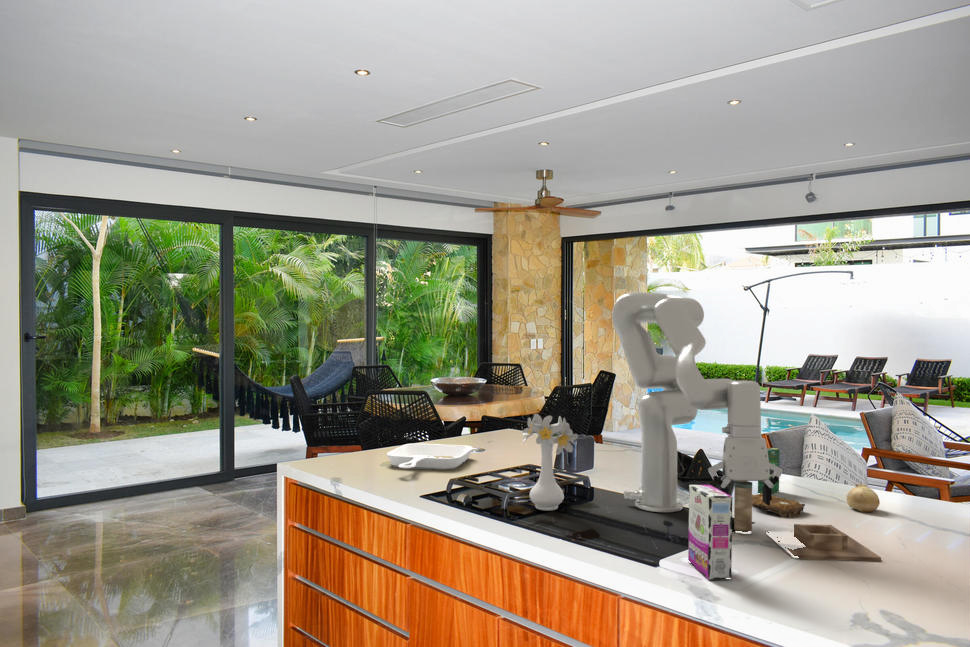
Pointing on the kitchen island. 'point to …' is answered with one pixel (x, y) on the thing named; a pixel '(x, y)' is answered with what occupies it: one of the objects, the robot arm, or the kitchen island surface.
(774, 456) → the coffee box
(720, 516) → the candy bar box
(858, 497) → the onion
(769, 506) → the decorative rock
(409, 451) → the pan
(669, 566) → the kitchen island surface
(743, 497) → the peg
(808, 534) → the socket block
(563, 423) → the flower vase
